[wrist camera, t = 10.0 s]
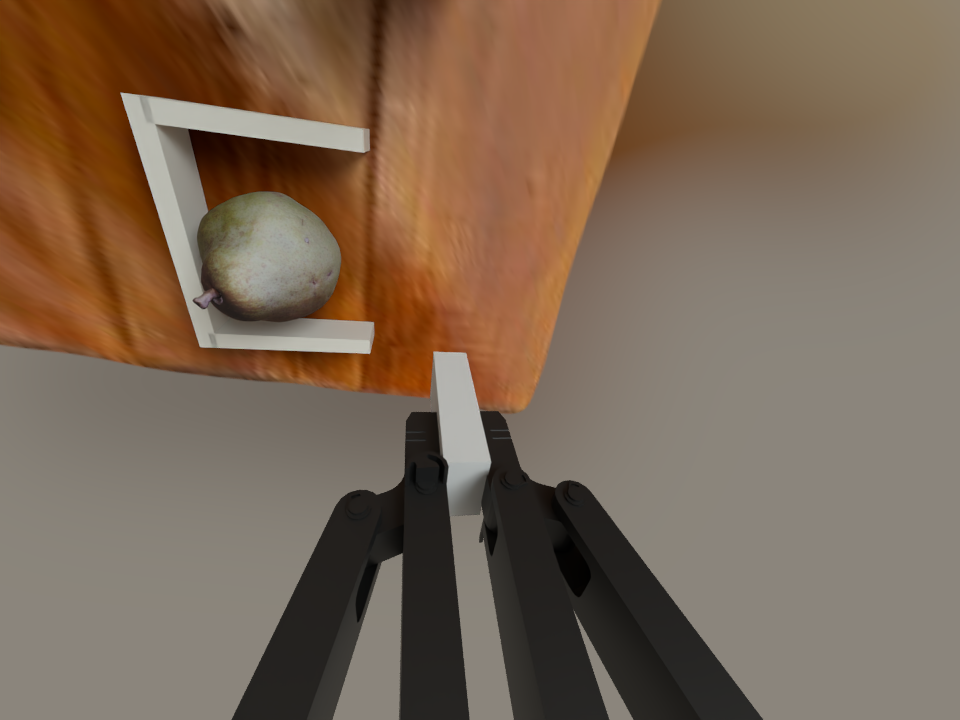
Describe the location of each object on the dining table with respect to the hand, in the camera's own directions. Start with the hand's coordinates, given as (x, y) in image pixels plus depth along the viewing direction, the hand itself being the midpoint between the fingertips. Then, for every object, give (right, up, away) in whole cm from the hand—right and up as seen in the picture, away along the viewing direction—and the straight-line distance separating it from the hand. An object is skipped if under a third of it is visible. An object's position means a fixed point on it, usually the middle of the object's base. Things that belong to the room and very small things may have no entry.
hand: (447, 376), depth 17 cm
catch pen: (-16, +12, +16) cm, 25 cm away
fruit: (-16, +12, +16) cm, 25 cm away
